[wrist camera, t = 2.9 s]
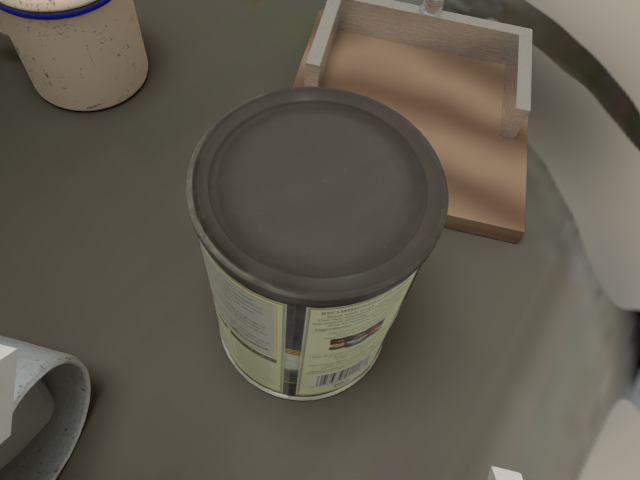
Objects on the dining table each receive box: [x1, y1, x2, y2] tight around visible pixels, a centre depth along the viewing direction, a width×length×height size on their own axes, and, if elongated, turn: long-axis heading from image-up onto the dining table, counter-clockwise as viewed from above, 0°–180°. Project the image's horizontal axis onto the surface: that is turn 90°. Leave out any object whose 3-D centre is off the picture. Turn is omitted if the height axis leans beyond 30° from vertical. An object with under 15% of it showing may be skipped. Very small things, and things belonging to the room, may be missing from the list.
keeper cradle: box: [304, 0, 532, 140], centre depth 39 cm, size 10×16×9 cm, turn 78°
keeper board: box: [292, 10, 528, 244], centre depth 42 cm, size 18×18×2 cm
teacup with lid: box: [0, 0, 148, 111], centre depth 37 cm, size 12×9×12 cm
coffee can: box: [186, 86, 449, 401], centre depth 27 cm, size 10×10×14 cm
